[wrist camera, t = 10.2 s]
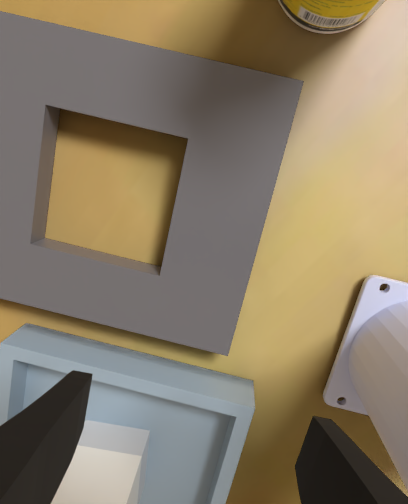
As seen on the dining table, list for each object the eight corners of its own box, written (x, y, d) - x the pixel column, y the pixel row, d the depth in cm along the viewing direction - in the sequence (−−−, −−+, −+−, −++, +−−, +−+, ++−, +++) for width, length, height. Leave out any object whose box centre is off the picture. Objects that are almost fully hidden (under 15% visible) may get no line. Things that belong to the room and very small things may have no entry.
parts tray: (253, 380, 22) (255, 408, 19) (200, 554, 25) (196, 595, 23) (26, 323, 22) (0, 342, 20) (6, 501, 26) (-18, 537, 23)
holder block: (298, 87, 18) (303, 81, 16) (228, 342, 21) (227, 356, 20) (-19, 14, 18) (-41, 1, 17) (-36, 276, 22) (-55, 284, 20)
